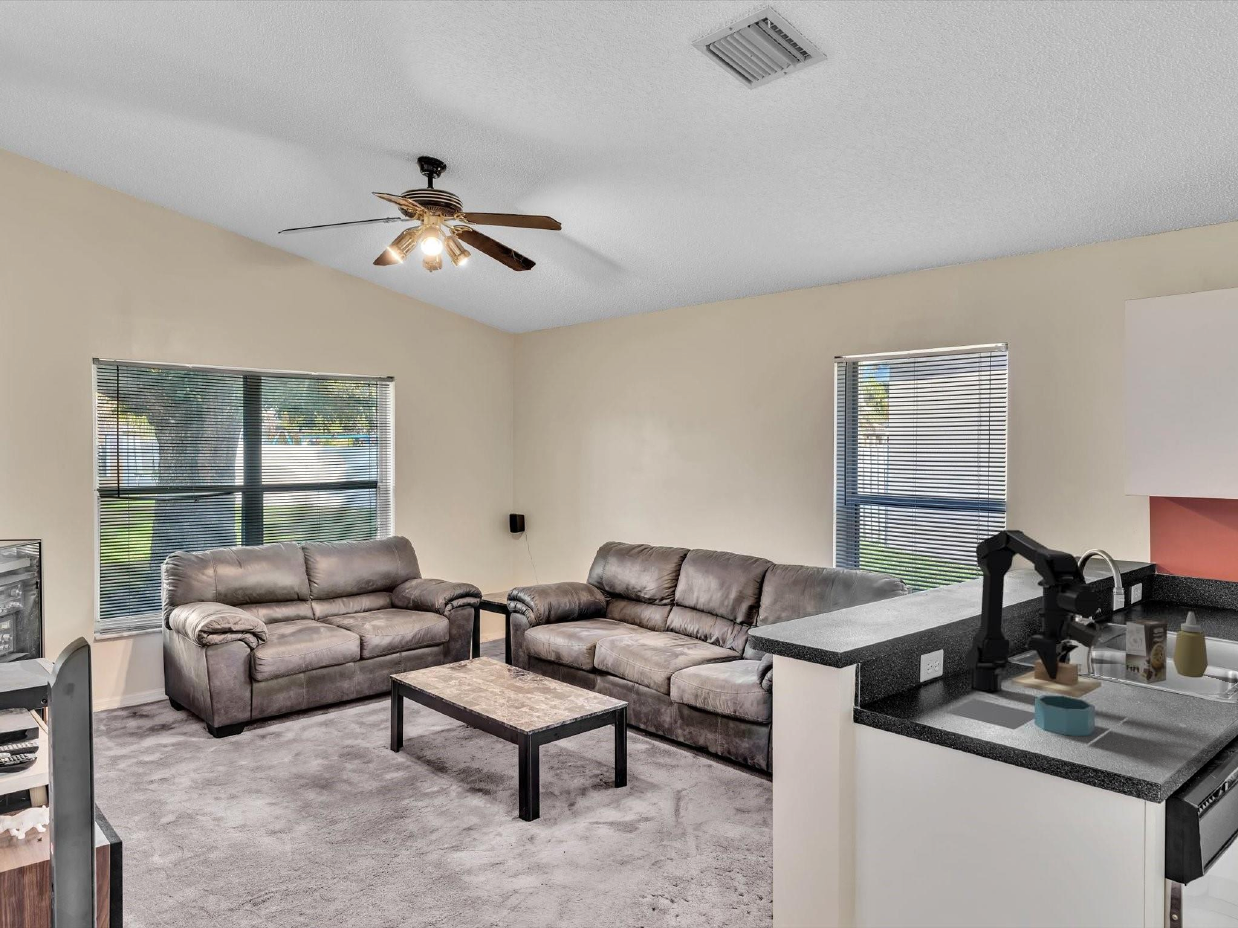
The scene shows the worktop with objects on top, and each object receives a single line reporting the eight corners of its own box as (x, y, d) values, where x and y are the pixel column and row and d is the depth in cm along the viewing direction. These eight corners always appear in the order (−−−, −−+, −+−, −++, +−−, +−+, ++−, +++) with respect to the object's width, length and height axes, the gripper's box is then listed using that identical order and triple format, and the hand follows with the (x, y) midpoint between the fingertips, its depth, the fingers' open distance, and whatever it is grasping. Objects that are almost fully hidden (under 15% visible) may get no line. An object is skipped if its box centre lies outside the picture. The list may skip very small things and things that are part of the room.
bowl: (1028, 728, 183) (1029, 701, 183) (1047, 717, 191) (1047, 692, 191) (1082, 741, 175) (1082, 713, 175) (1099, 729, 182) (1099, 703, 182)
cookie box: (1148, 684, 220) (1149, 625, 220) (1124, 678, 225) (1125, 620, 225) (1167, 680, 224) (1168, 622, 224) (1143, 674, 230) (1144, 618, 229)
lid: (1011, 684, 184) (1011, 662, 184) (1035, 674, 193) (1036, 653, 193) (1078, 697, 174) (1078, 674, 174) (1100, 686, 183) (1101, 664, 183)
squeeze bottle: (1165, 671, 233) (1167, 609, 233) (1192, 671, 234) (1193, 609, 234) (1187, 679, 225) (1189, 614, 225) (1214, 679, 226) (1216, 614, 226)
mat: (944, 713, 193) (944, 711, 193) (974, 700, 204) (974, 698, 204) (1014, 730, 181) (1014, 729, 181) (1041, 715, 192) (1041, 714, 192)
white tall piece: (1098, 675, 228) (1099, 622, 228) (1071, 674, 230) (1072, 621, 229) (1089, 669, 235) (1089, 617, 235) (1062, 667, 236) (1063, 616, 236)
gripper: (1080, 618, 171) (1079, 692, 171) (1110, 609, 184) (1109, 677, 184) (1025, 611, 180) (1025, 681, 180) (1058, 602, 192) (1057, 668, 192)
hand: (1056, 677), depth 184 cm, fingers closed on lid, 3 cm apart
